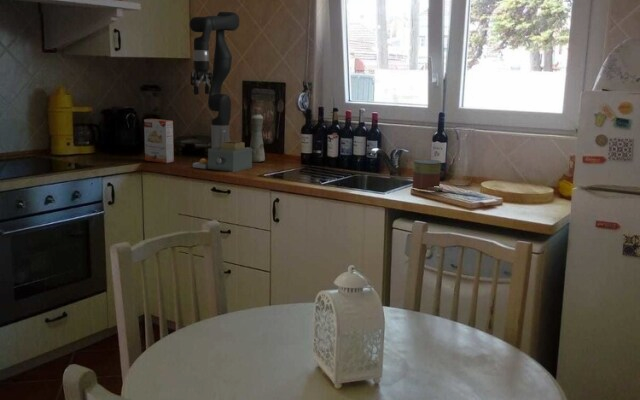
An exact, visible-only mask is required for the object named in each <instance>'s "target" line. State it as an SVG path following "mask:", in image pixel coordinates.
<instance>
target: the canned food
mask: <svg viewBox="0 0 640 400" xmlns="http://www.w3.org/2000/svg"><path fill="white" fill-rule="evenodd" d="M441 170H442V161H440V160H436V159H435V160H434V159H425V158H424V159H414V160H413V172H412V188H428V187H434V186H439V187H440V185H441V183H440V182H441ZM412 188H411V189H412Z"/></svg>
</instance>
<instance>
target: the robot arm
mask: <svg viewBox="0 0 640 400" xmlns="http://www.w3.org/2000/svg"><path fill="white" fill-rule="evenodd" d="M189 27H190V30H191V31H192V32H194V33H202V34H201V36H199V37H198V36H197V37H195V38H194V39H193V57H192V59H193V70H194V71H195V72H194V71H193V72H190V86H193V95H195V96H198V95H199V93H200V91H199V89H200V88H199V85H200V84H201V83H203V85H204V94H205V95H208V100H207V106H208V108H209V110H210V111H212V112H218V115H216V117H213V118H212V119H211V123H210V124H211V148H216V147H221V143H222V142H228V141H231V138H230V121H231V117H232V115H231V114H232V100H231V97H230V95H228V94H226V93H222V92H221V91H222V87H223V83H224V82H225V80H226V78H227V77H228V76H229V73H230V72H231V68H232V59H233V57H232V53H231V51H230V48H229V47H228V44H227V43H226V39H225V32H226V31H229V32H230V31H231V32H232V31H236V30H238V29H239V27H240V16H239V15H238V14H237V13H236V12H232V11H230V12H229V11H220V12H218V13H217V15H209V16H208V15H207V16H193V17H192V18H191V19H190V21H189ZM213 31H215V46H214V52H213V53H214V56H213V62H212V72H209V70H210V45H209V44H210V43H209V41H210V38H211V33H212V32H213Z"/></svg>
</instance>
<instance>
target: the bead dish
mask: <svg viewBox="0 0 640 400" xmlns="http://www.w3.org/2000/svg"><path fill="white" fill-rule="evenodd" d="M192 168H194V169H197V168H198V169H203V170H206V169H208V164H199V161H198V162H193V163H192Z"/></svg>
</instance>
